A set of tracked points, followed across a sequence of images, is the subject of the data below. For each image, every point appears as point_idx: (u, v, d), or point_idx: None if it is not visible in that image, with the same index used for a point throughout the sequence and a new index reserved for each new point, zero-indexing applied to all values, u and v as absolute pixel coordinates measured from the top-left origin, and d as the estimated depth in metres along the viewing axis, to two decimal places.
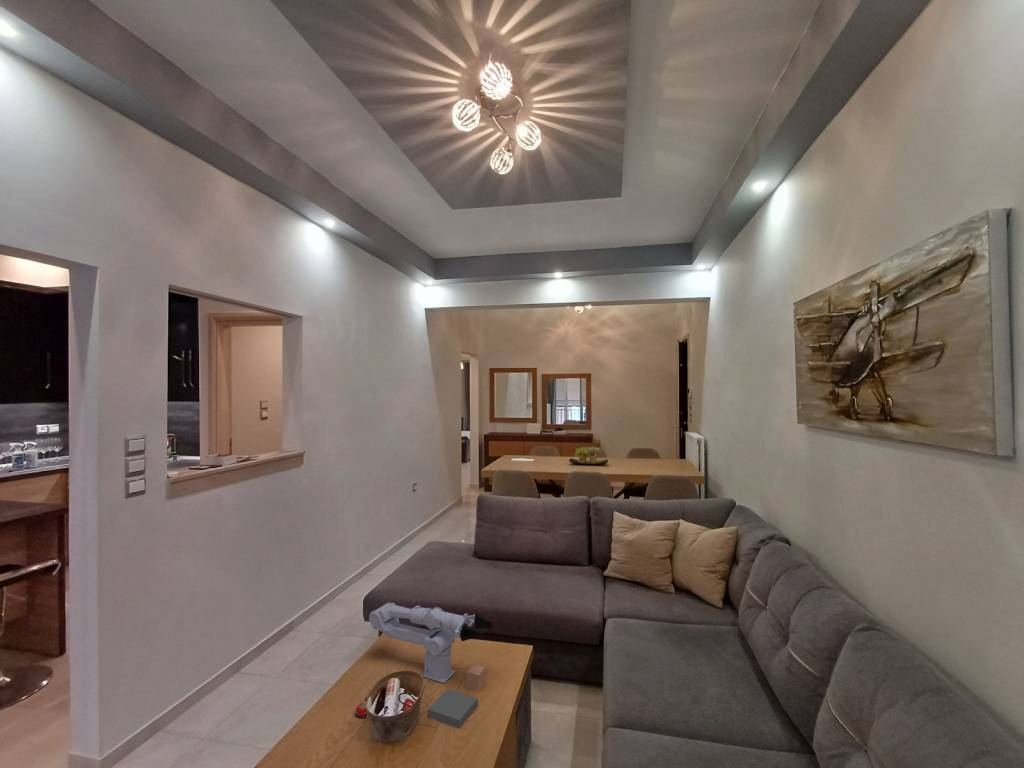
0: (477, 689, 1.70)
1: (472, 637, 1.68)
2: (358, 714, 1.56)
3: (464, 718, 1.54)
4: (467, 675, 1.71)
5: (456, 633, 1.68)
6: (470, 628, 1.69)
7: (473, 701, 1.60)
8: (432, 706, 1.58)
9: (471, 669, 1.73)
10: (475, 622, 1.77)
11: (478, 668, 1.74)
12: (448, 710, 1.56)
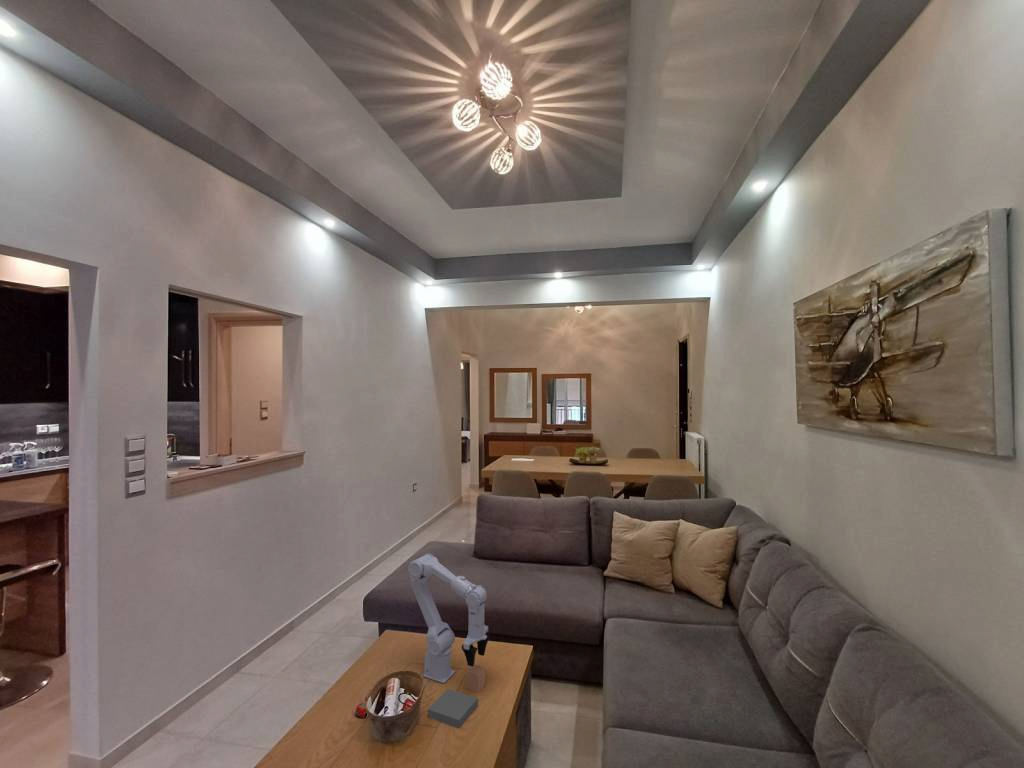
0: (477, 689, 1.70)
1: (466, 656, 1.69)
2: (358, 714, 1.56)
3: (464, 718, 1.54)
4: (467, 675, 1.71)
5: (466, 647, 1.66)
6: (474, 655, 1.68)
7: (473, 701, 1.60)
8: (432, 706, 1.58)
9: (471, 669, 1.73)
10: None
11: (478, 668, 1.74)
12: (448, 710, 1.56)
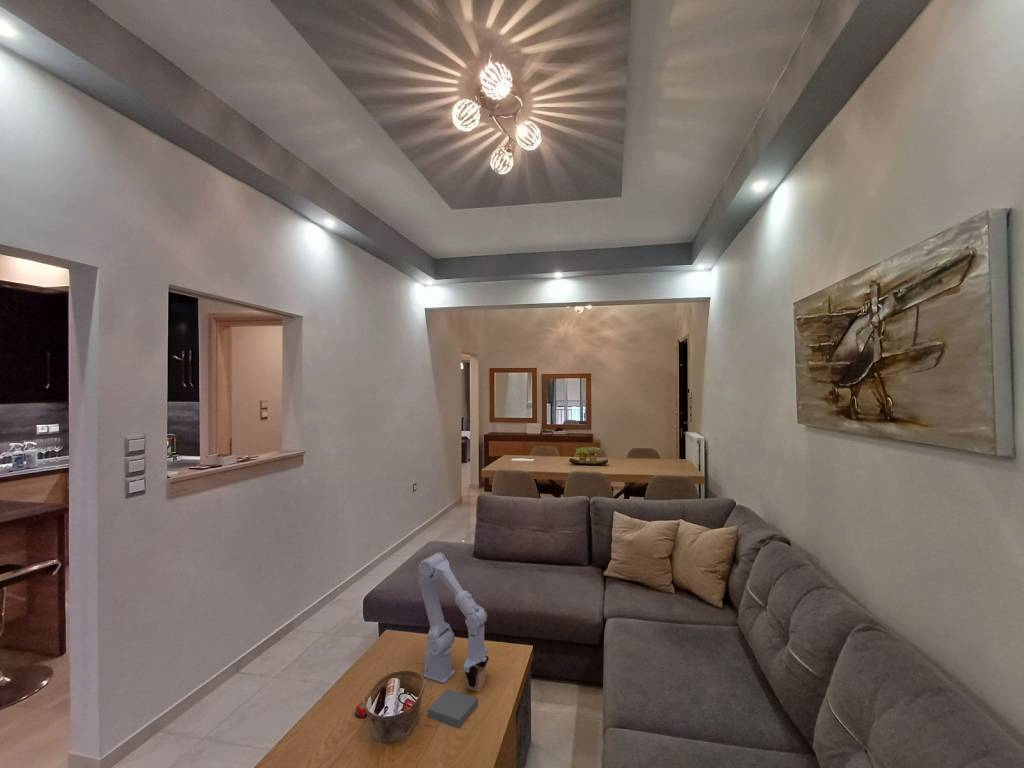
0: (477, 689, 1.70)
1: (468, 676, 1.70)
2: (357, 714, 1.56)
3: (464, 718, 1.54)
4: None
5: (466, 669, 1.66)
6: (475, 676, 1.69)
7: (473, 701, 1.61)
8: (432, 706, 1.58)
9: None
10: None
11: (478, 668, 1.74)
12: (448, 710, 1.56)
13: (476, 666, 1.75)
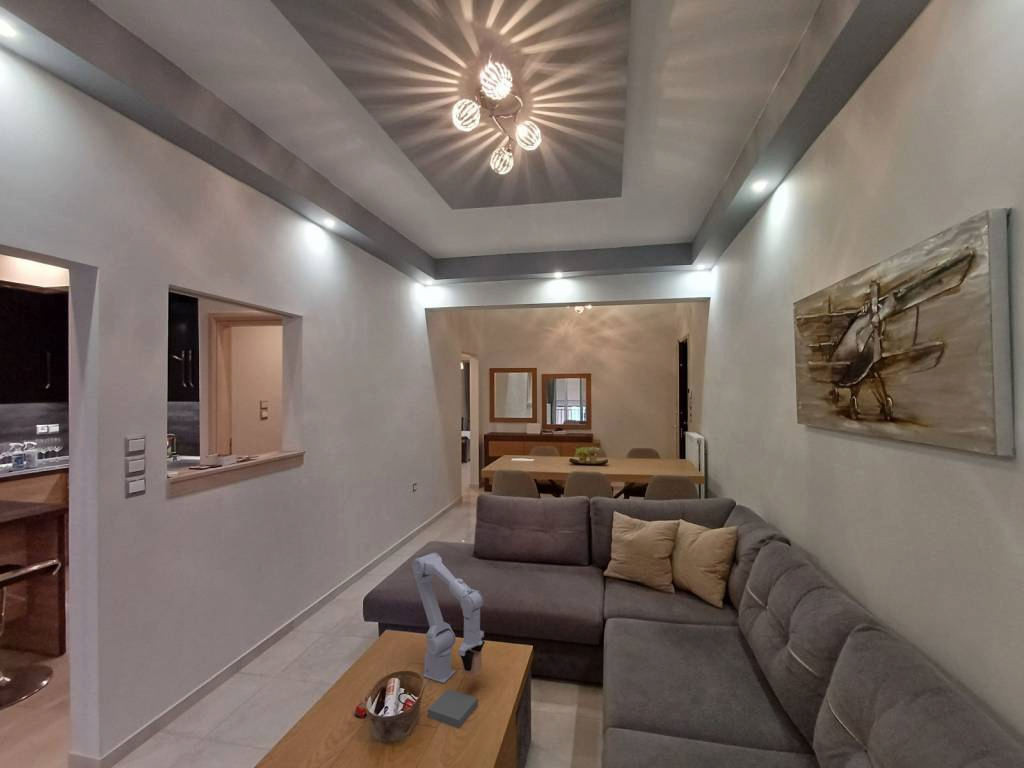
0: (473, 673, 1.67)
1: (463, 661, 1.67)
2: (357, 714, 1.56)
3: (464, 718, 1.54)
4: None
5: (462, 653, 1.63)
6: (471, 660, 1.66)
7: (473, 701, 1.61)
8: (432, 706, 1.58)
9: None
10: None
11: None
12: (448, 710, 1.56)
13: (472, 651, 1.72)
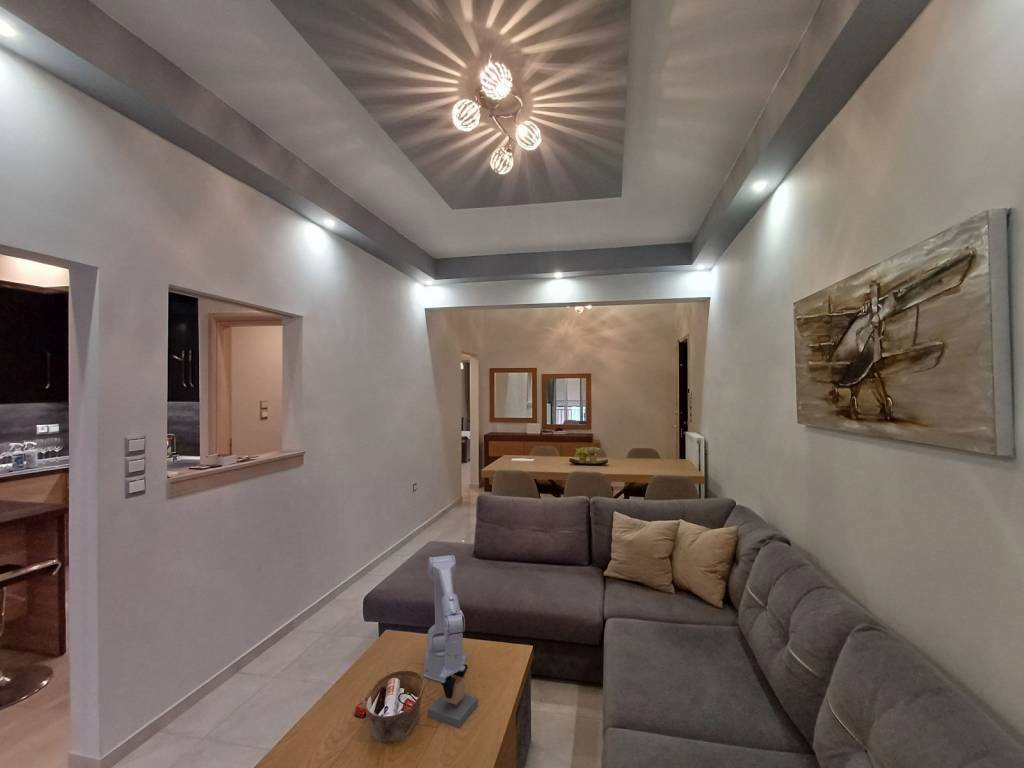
0: (455, 701, 1.56)
1: (444, 687, 1.57)
2: (357, 713, 1.56)
3: (464, 718, 1.54)
4: None
5: (442, 680, 1.53)
6: (452, 687, 1.55)
7: (473, 701, 1.61)
8: (432, 706, 1.58)
9: None
10: None
11: (456, 678, 1.60)
12: (448, 710, 1.56)
13: (454, 676, 1.61)
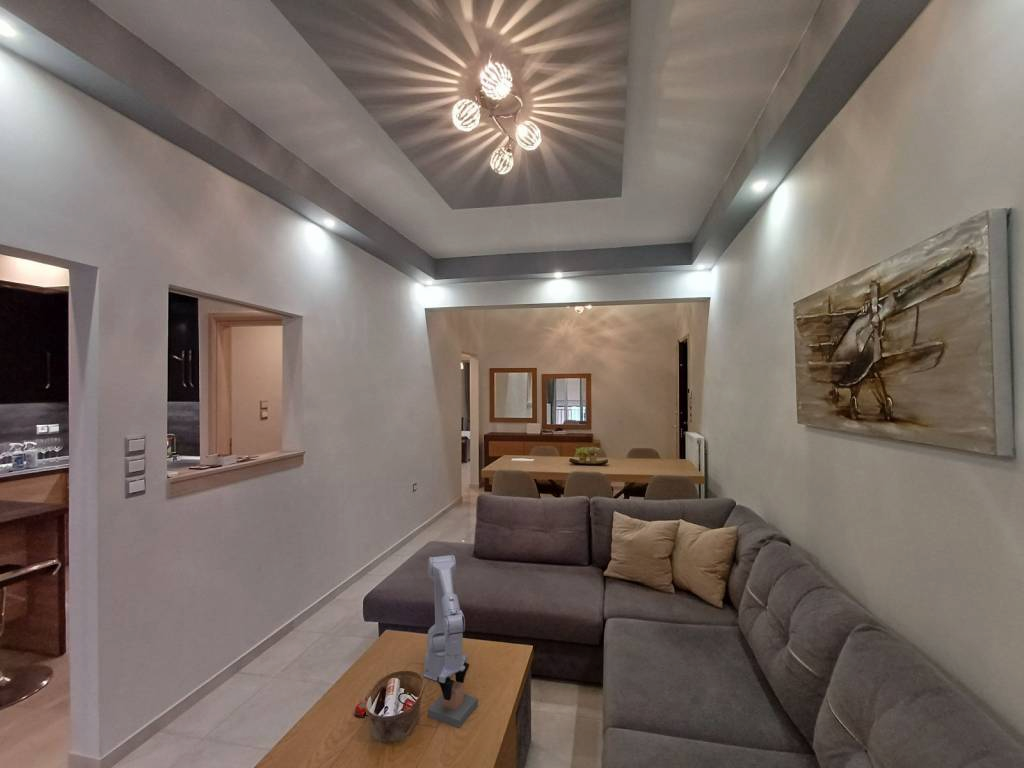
0: (455, 707, 1.56)
1: (442, 689, 1.56)
2: (356, 713, 1.56)
3: (464, 718, 1.54)
4: None
5: (442, 679, 1.53)
6: (450, 689, 1.55)
7: (473, 701, 1.61)
8: (432, 706, 1.58)
9: None
10: None
11: (456, 684, 1.60)
12: (448, 710, 1.56)
13: (454, 682, 1.61)
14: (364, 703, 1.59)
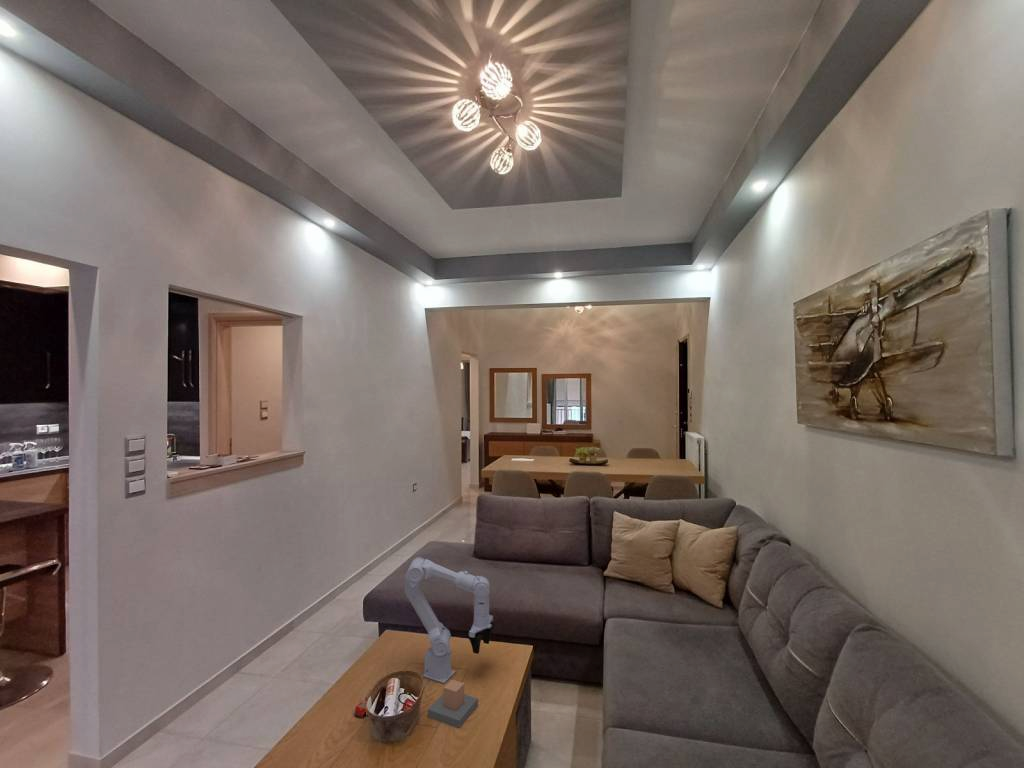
0: (455, 707, 1.56)
1: (472, 644, 1.76)
2: (356, 713, 1.56)
3: (464, 718, 1.54)
4: (444, 691, 1.58)
5: (472, 635, 1.73)
6: (479, 643, 1.75)
7: (473, 701, 1.61)
8: (432, 706, 1.58)
9: (449, 685, 1.60)
10: None
11: (456, 683, 1.60)
12: (448, 710, 1.56)
13: (454, 681, 1.61)
14: (364, 703, 1.59)
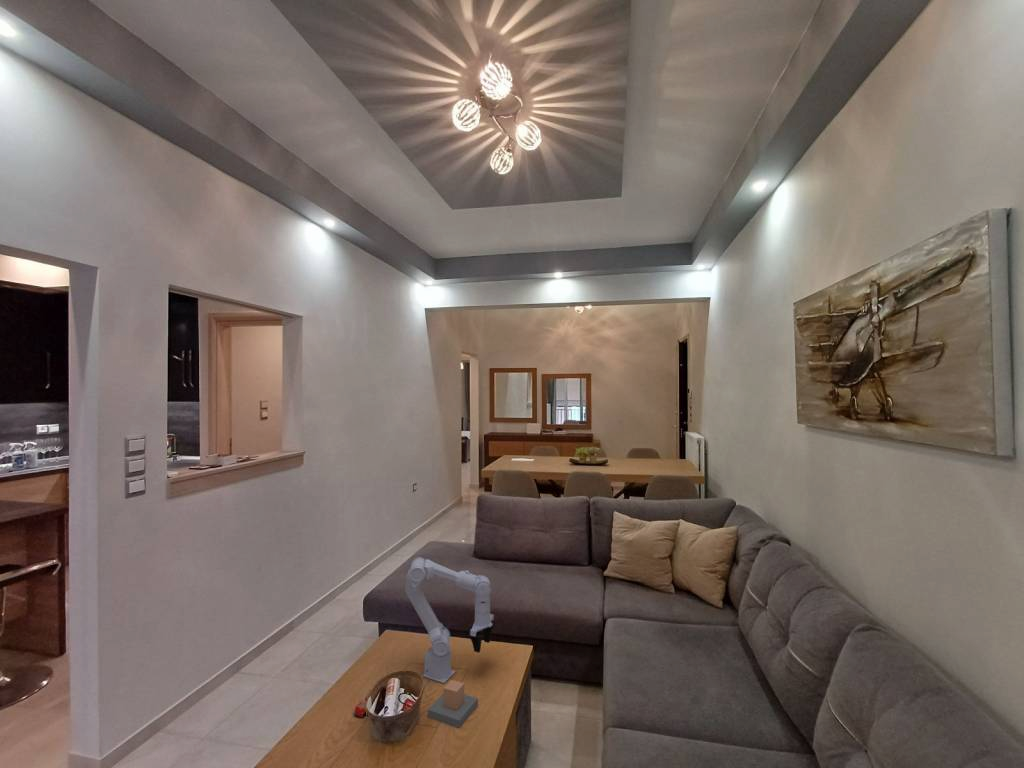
0: (455, 707, 1.56)
1: (473, 642, 1.77)
2: (356, 713, 1.56)
3: (464, 718, 1.54)
4: (444, 692, 1.58)
5: (473, 633, 1.74)
6: (480, 642, 1.76)
7: (473, 701, 1.61)
8: (432, 706, 1.58)
9: (449, 685, 1.59)
10: None
11: (456, 683, 1.60)
12: (448, 710, 1.56)
13: (454, 682, 1.61)
14: (364, 703, 1.59)
